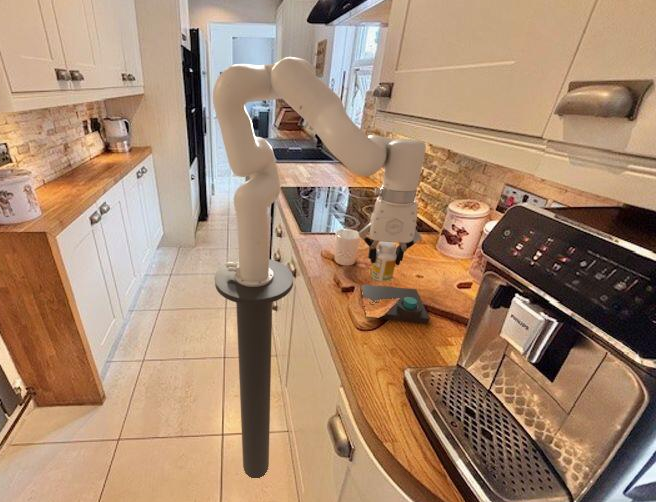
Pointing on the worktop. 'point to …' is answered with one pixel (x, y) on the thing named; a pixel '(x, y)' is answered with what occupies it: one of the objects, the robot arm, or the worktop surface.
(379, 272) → the supplement bottle
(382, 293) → the scale
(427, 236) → the worktop surface
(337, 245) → the white cup
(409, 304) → the button
